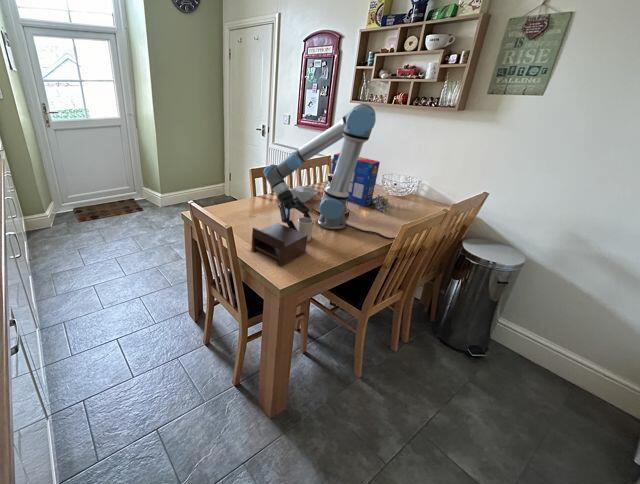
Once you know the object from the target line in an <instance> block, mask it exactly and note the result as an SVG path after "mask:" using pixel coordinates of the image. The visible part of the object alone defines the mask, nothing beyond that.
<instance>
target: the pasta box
mask: <svg viewBox="0 0 640 484" xmlns="http://www.w3.org/2000/svg"><path fill="white" fill-rule="evenodd" d="M339 155H340V152H339V153H335V154H333V157H332V165H331V172H330V175H331V174H334V171H335V167H336V164H337V161H338V158H339ZM380 162H381V161H378V160H376V159H375V160H374V159H370V158H365V157H360V156H359V158H358V161H357V164H356V167H355V169H354V172H353V175H352V178H351V181H350V184H349V187H348V193H349V197H348V200H347V202H349V203H352V204H355V205H358V206H360V207H364V208H365V207H368V206H371V205H372V204H371V203H372V199H373V197H374V194H375V187H376V183H377V178H378V173H379V168H380Z"/></svg>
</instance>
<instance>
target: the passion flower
mask: <svg viewBox="0 0 640 484" xmlns="http://www.w3.org/2000/svg"><path fill="white" fill-rule="evenodd" d="M388 200H389V199H388V198H386V197H385V196H384V195H380V194H379V193H377V197H374V198H372V203H371V204H370V205H372V207H375V209H376V210H378V211H379V213H381V212H382V213H385V211H386V210H387V211H388V209H389V205H390V202H389V201H388Z"/></svg>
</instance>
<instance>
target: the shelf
mask: <svg viewBox="0 0 640 484" xmlns="http://www.w3.org/2000/svg"><path fill="white" fill-rule="evenodd" d="M251 232H252V233H251V251H252V252H253V253H255V252H256V251H259V252H261V253H263V254H266V255H267V256H270V257H271V258H273V259H276V260H278V266H280V267H282V266H283V265H286V264H287V263H290V262H291V261H293V260H294V259H296V258H298V257H300V256H301V255H303V254H305V253H306V252H307V244H308V241H307V235H306V234H303V233H301V232H299V231H296V230H294V229H291V228H289V226H288V225H284V224H281V223H279V222H276V223H273V224H271V225H269V226H266V227H264V228H261V229H259V228H258V227H255V226H254V227H252V231H251Z"/></svg>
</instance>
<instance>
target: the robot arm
mask: <svg viewBox="0 0 640 484" xmlns="http://www.w3.org/2000/svg"><path fill="white" fill-rule="evenodd" d="M376 118H377V116H376V111H375V109H374V108H373V107H372V106H371V105H370V104H366V103H361V104H357V105H356V106H354V107H352V109H351V110H350V111H349V112H348V113H346V114H345V115H344V116H342V117H341V119H340V121H338V122H336V123H335V124H334V125H333V126H331V127H329V128H328V129H326V130H325V131H323V132H322V133H320V134H319V135H317V136H315V138H313V139H311V140H309V142H307V143H305V144H304V145H302V146H301V147H299V148H298V149H296V150H295V151H293V152H291V153H289V155H288V156H287V157H285V159H283V160H282V161H281V162H280V163H278V164H277V165H276V164H274V163H272V164H270V165H268V166H266V167H265V168H264V169H263V171H262V173H263V175H264V177H265V180H266V181H267V182H268V184H269V186H270V187H271V189H272V191H273V192H274V194H275V196H276V197H277V199H278V201H279V204H277V206H278V208H279V213H280V220H281V222H282V223H284V224H286V226H287V227H289V228H291V229H294V230H296V231H297V226H295V224H294V222H293V220H292V219H291V210H292V209H295V210H297V211H298V212H299V213H301V214H303V216H302V217H307V218H310V219H312V217H311V215H310V214H309V212H310V208H308V206H307V205H306V204H304V203H302V202H301V201H300V200H299V199H298V197H296V198H294V197H292V196H293V194H292V193H291V191H290V190H288V189H290V187H289V186H288V184H287V183H286V181H285V179H286V178H287V177H288V176H290V175H291V174H292V173H294V172H295V171H298V169H300V168H301V167H302V164H304V163H306V162H307V161H309V160H310V159H311V158H313V157H315V156H316V155H318V154H320V153H321V152H323V151H325V150H326V149H328V148H329V147H331V146H333V145H334V144H335V143H337V142H338V141H340V140H341V139H343V142H342V146H341V149H340V152H339V153H340V155H339V158H338V161H337V164H336V167H335V171H334V174H333V177H332V180H331V183H330V182H329V183H327V184H326V185H325V189H324V192H323V195H322V197H321V202H320V203H319V213H320V215H319V216H318V218H317V225H318V226H320V227H321V228H323V229H326V230H330V231H341V230H344V229H346V227H348V228H350V229H354V230H356V231H359V232H362V233H369V234H375V235H377V236H380V237H381V238H383V239H386V240H396V239H395V238H396V237H388V236H386V235H384V234H381V233H380V232H378V231H377V232H376V231H371V230H364V229H361V228H359V227H358V228H357V227H355V226H353V225H349V224H348V223H347V219H346V214H345V213H346V205H347V203H348V201H347V200H348V197H349V193H348V187H349V184H350V181H351V178H352V175H353V172H354V169H355V167H356V164H357V161H358V158H359V157H360V155H361V152H362V149H363V146H364V143H366V142H368V141H369V139H370V137H371V135H372V134H371V133H372V130H373V129H374V127H375V126H376V125H375V124H376V121H377V120H376ZM314 224H315V222H313V225H314Z"/></svg>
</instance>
